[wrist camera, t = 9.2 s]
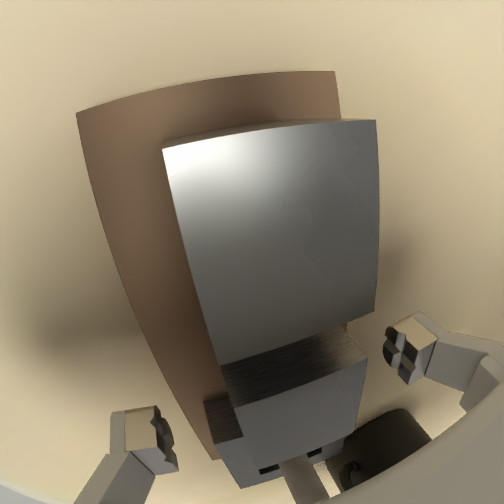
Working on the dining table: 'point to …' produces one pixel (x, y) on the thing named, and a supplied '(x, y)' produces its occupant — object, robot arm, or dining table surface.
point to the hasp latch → (281, 279)
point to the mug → (376, 448)
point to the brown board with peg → (167, 227)
